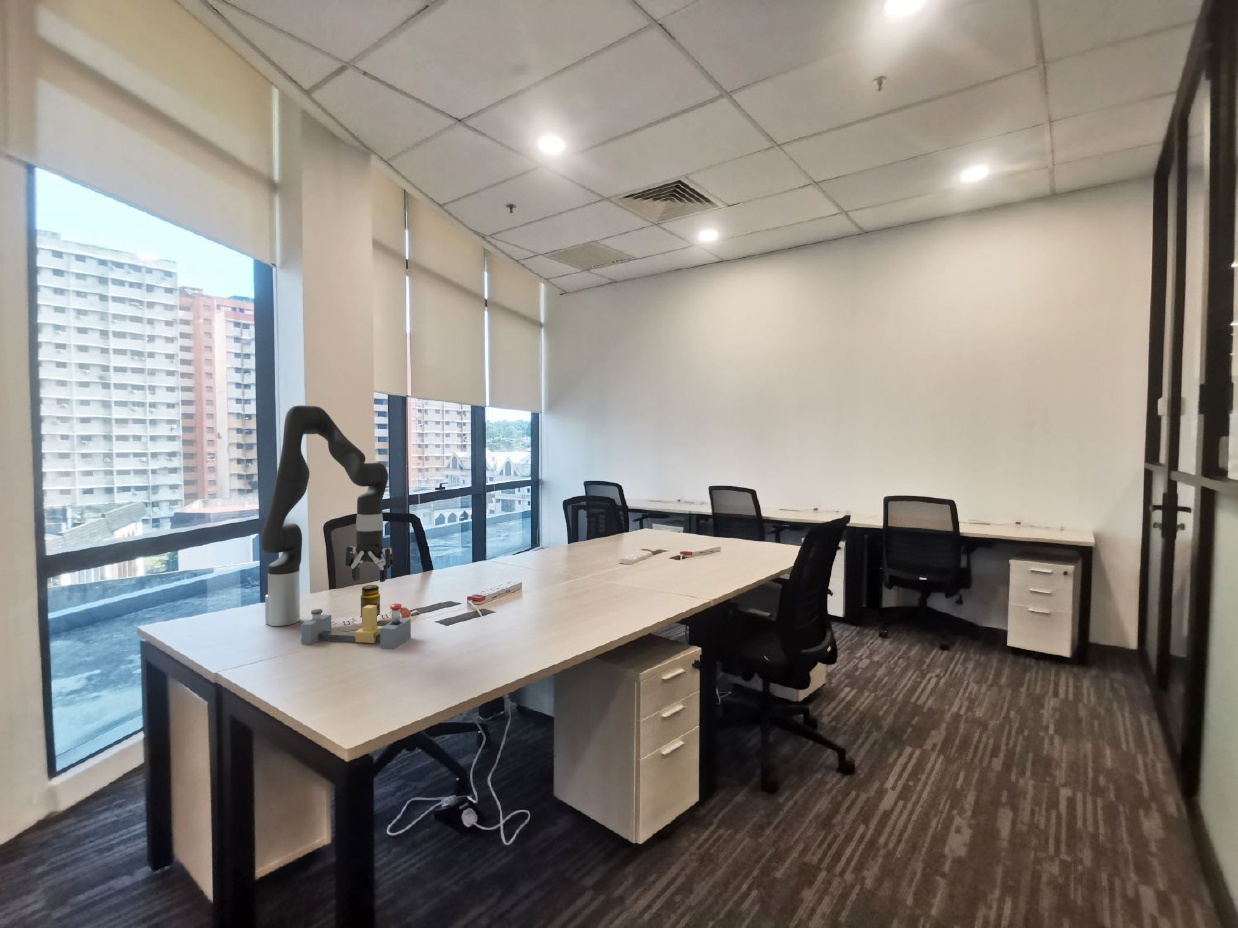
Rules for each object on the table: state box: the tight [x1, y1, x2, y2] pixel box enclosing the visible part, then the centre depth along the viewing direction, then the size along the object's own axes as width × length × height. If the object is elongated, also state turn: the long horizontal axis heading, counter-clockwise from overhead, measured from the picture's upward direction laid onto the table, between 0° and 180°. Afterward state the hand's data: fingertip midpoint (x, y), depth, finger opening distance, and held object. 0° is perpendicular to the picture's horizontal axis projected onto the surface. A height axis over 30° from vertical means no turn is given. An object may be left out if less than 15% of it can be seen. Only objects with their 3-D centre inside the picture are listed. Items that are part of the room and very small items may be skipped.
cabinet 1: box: [300, 608, 332, 645], centre depth 174 cm, size 3×10×9 cm, turn 173°
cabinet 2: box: [379, 617, 412, 650], centre depth 171 cm, size 4×10×6 cm, turn 173°
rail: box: [318, 630, 380, 645], centre depth 172 cm, size 22×3×2 cm, turn 83°
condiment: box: [360, 584, 381, 618], centre depth 191 cm, size 7×8×12 cm
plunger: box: [389, 603, 402, 625], centre depth 171 cm, size 3×3×6 cm
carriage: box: [354, 605, 383, 644], centre depth 172 cm, size 6×6×10 cm
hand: (369, 580), depth 171 cm, fingers open, 8 cm apart
